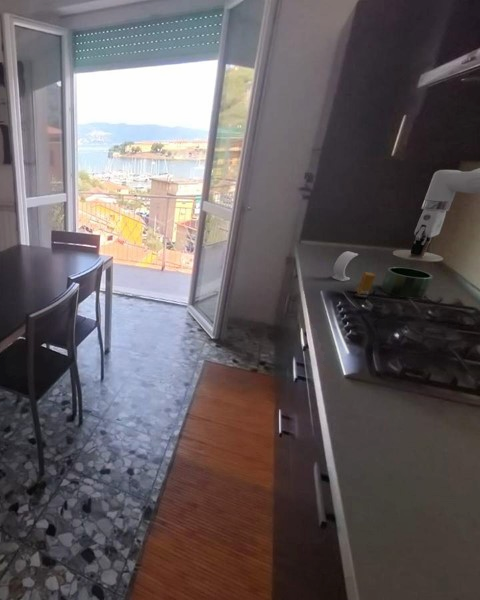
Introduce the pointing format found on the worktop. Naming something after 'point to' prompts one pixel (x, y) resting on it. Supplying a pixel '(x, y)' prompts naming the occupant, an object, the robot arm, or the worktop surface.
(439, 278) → the worktop surface
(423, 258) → the tin lid
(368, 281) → the supplement box
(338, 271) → the headphone stand
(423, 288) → the lunch tin
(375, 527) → the worktop surface
